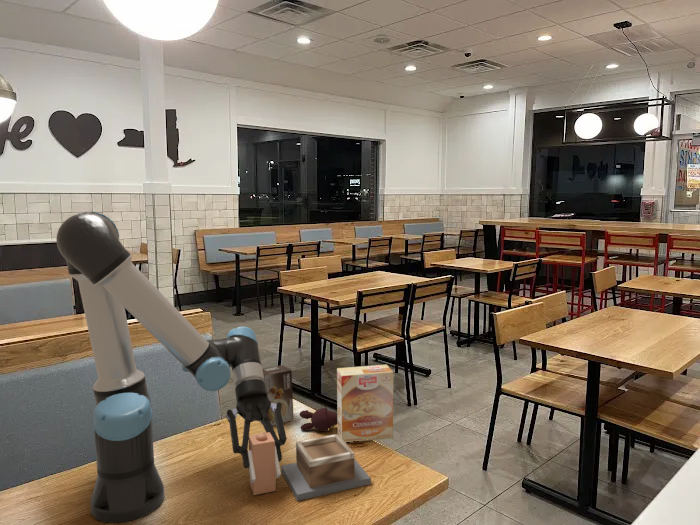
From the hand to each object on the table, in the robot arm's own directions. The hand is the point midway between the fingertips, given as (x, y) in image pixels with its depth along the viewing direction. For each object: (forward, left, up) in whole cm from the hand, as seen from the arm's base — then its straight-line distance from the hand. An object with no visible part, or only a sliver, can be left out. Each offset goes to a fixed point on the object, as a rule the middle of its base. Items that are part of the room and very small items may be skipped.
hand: (265, 478), depth 119 cm
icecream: (+24, +28, -5) cm, 37 cm away
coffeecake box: (+33, +20, -5) cm, 39 cm away
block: (0, +4, -4) cm, 6 cm away
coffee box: (+12, +40, -5) cm, 42 cm away
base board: (+15, +3, -4) cm, 16 cm away
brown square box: (+15, +3, -3) cm, 15 cm away
